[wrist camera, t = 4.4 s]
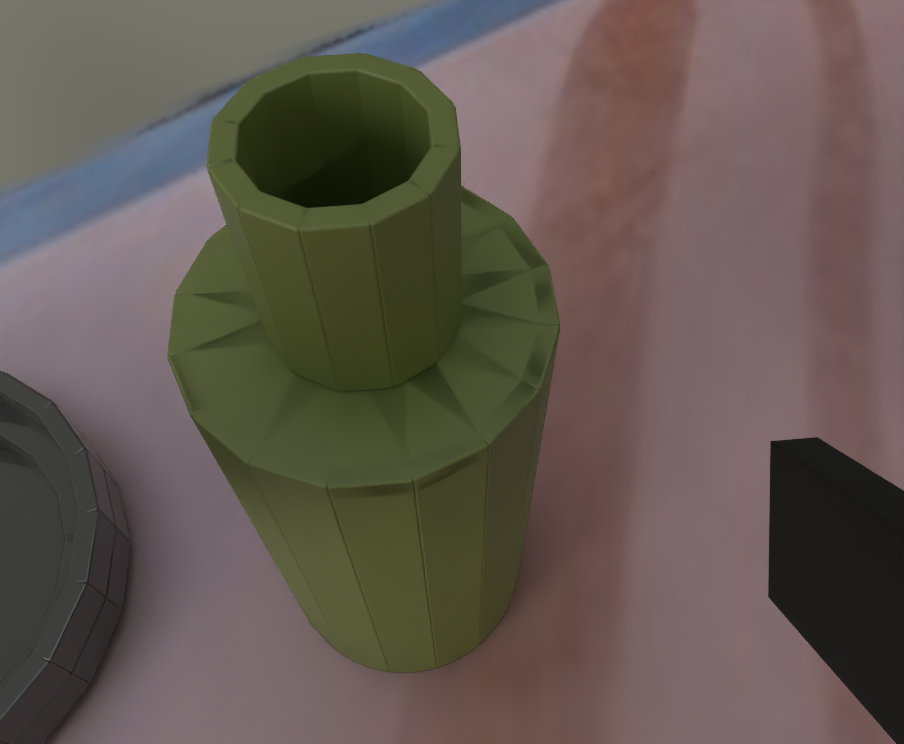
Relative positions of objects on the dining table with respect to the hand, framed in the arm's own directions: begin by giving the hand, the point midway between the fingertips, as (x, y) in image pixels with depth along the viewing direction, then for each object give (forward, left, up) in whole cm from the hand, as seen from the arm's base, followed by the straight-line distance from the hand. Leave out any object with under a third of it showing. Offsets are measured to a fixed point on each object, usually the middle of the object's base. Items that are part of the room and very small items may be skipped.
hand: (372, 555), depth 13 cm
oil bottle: (0, -4, -12) cm, 13 cm away
